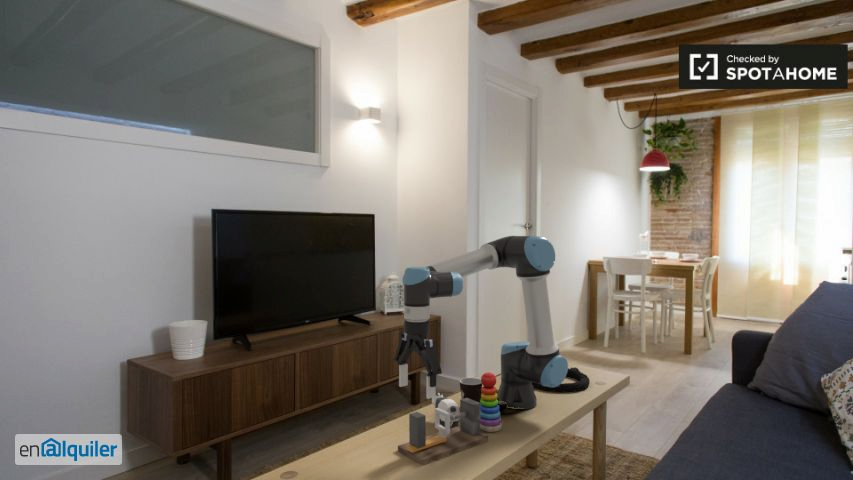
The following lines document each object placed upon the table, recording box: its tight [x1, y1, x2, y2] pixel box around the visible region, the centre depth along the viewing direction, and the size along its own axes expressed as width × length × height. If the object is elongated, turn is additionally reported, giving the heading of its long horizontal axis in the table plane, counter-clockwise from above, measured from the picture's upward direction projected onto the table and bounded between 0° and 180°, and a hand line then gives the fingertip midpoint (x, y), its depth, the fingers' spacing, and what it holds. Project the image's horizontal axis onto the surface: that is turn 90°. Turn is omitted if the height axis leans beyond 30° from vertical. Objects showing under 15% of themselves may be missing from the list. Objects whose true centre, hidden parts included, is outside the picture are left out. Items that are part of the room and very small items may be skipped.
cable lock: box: [532, 367, 590, 393], centre depth 221 cm, size 28×4×30 cm
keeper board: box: [397, 398, 489, 466], centre depth 157 cm, size 26×12×12 cm, turn 128°
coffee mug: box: [459, 377, 483, 404], centre depth 188 cm, size 12×9×10 cm
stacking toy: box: [480, 371, 503, 433], centre depth 170 cm, size 8×8×19 cm
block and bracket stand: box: [406, 407, 451, 453], centre depth 153 cm, size 13×6×10 cm, turn 128°
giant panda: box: [431, 391, 460, 428], centre depth 176 cm, size 15×6×10 cm, turn 27°
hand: (416, 391), depth 150 cm, fingers open, 13 cm apart
